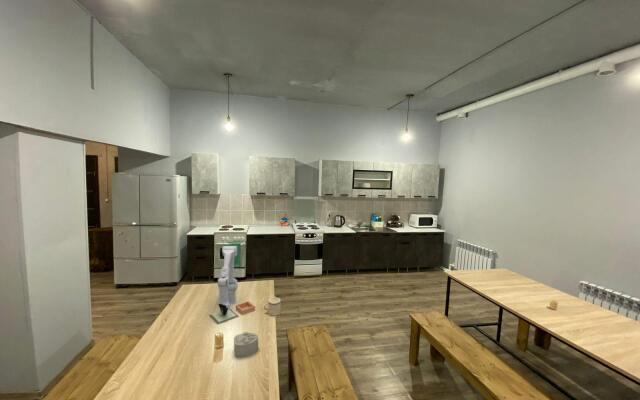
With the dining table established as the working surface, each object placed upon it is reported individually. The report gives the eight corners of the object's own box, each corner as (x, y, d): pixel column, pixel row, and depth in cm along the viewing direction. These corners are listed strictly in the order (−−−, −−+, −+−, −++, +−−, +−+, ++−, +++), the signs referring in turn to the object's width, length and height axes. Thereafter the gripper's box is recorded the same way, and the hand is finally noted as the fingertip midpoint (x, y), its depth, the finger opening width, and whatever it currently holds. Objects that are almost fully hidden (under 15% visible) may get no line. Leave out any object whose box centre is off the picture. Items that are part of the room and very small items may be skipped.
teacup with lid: (280, 308, 198) (280, 293, 197) (281, 315, 189) (281, 299, 188) (263, 310, 195) (263, 294, 194) (263, 316, 186) (263, 300, 185)
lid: (211, 315, 186) (211, 308, 185) (228, 309, 194) (228, 302, 194) (218, 322, 177) (218, 315, 177) (236, 316, 185) (236, 309, 185)
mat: (208, 315, 186) (208, 315, 186) (229, 308, 196) (229, 308, 196) (217, 325, 175) (217, 324, 175) (239, 317, 185) (239, 316, 185)
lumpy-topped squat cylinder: (234, 346, 155) (233, 332, 154) (257, 342, 159) (257, 328, 158) (234, 358, 145) (234, 343, 144) (259, 354, 149) (259, 339, 148)
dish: (235, 310, 195) (235, 305, 194) (248, 306, 201) (248, 300, 201) (242, 316, 187) (242, 310, 187) (255, 311, 194) (255, 306, 194)
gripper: (213, 292, 187) (213, 311, 188) (222, 300, 176) (222, 320, 177) (223, 289, 191) (223, 308, 193) (232, 297, 181) (232, 316, 182)
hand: (223, 313), depth 185 cm, fingers closed on lid, 3 cm apart
